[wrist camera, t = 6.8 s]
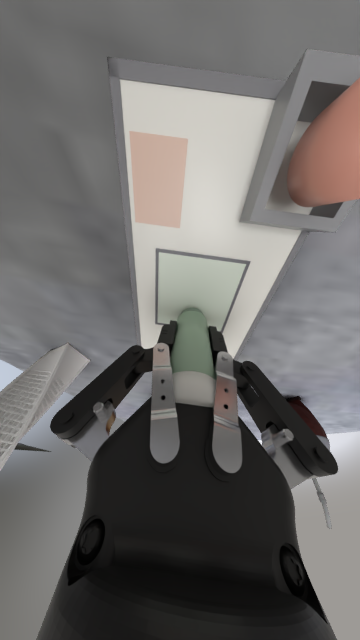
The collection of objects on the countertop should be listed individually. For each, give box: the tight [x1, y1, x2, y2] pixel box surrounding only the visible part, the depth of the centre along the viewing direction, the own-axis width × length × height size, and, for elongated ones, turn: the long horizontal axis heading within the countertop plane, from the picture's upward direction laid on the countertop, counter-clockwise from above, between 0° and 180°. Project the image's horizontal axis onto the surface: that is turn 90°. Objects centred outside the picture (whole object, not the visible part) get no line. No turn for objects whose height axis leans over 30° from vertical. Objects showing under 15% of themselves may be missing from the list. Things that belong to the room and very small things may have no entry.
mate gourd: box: [286, 396, 332, 529], centre depth 23 cm, size 8×8×15 cm
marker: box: [170, 308, 215, 408], centre depth 12 cm, size 4×4×10 cm
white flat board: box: [107, 49, 360, 361], centre depth 14 cm, size 16×25×3 cm, turn 174°
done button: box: [287, 78, 360, 207], centre depth 6 cm, size 4×4×3 cm
